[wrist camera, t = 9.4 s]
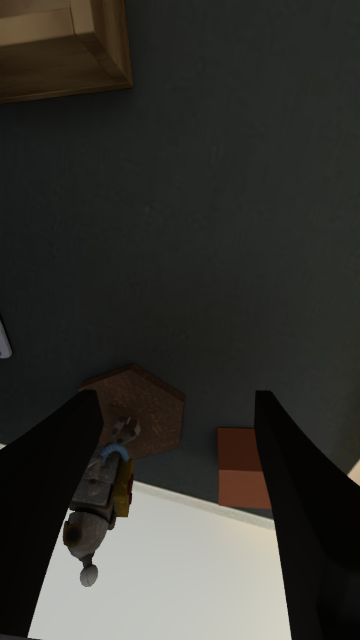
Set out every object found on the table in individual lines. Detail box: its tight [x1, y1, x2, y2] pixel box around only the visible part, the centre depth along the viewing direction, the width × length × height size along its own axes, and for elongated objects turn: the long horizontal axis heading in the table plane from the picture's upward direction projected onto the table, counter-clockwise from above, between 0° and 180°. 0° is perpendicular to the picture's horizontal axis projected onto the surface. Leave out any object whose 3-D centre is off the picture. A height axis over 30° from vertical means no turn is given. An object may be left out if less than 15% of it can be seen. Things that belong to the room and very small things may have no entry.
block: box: [217, 428, 272, 509], centre depth 24 cm, size 4×4×4 cm
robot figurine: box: [63, 363, 185, 587], centre depth 20 cm, size 11×9×12 cm
